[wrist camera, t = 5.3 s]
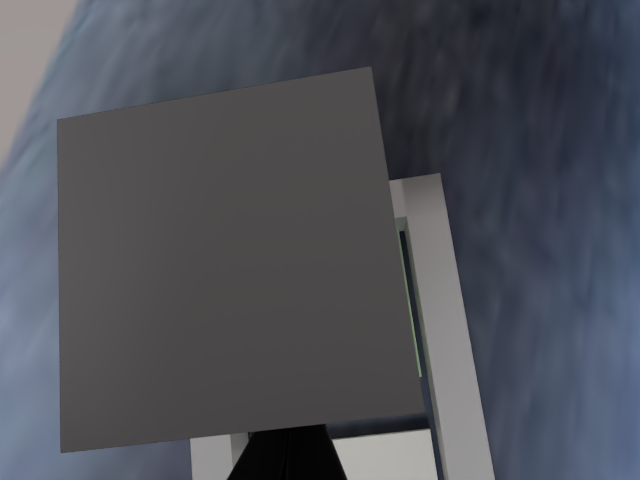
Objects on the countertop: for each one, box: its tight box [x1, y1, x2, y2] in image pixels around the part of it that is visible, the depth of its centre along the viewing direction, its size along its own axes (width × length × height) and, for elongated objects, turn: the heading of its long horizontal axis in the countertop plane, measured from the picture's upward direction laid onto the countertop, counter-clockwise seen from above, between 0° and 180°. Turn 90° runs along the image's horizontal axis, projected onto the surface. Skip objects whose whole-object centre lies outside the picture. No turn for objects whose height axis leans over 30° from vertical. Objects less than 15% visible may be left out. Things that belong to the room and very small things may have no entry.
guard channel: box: [190, 173, 495, 480], centre depth 16 cm, size 16×8×2 cm, turn 7°
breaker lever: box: [57, 66, 425, 453], centre depth 12 cm, size 4×4×11 cm
